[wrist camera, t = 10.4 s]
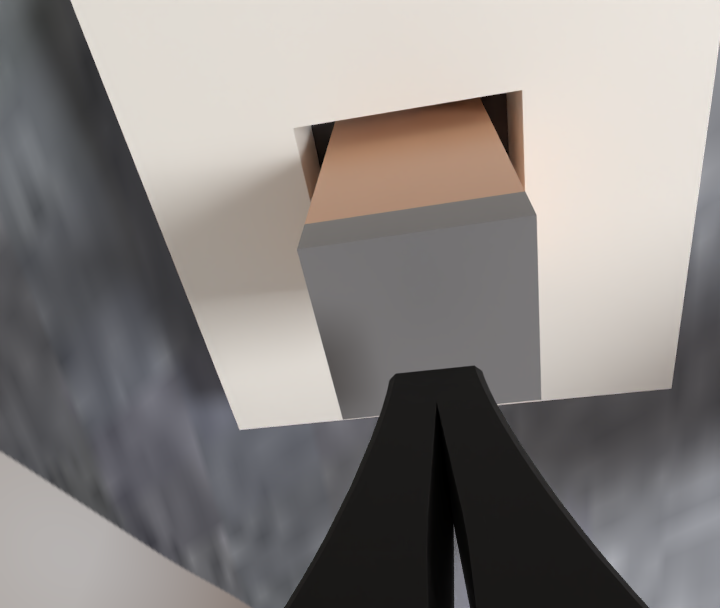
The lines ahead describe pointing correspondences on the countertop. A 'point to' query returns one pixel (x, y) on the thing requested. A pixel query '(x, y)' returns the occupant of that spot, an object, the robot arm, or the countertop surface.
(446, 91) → the socket plate
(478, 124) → the plug
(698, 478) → the countertop surface
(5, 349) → the countertop surface
